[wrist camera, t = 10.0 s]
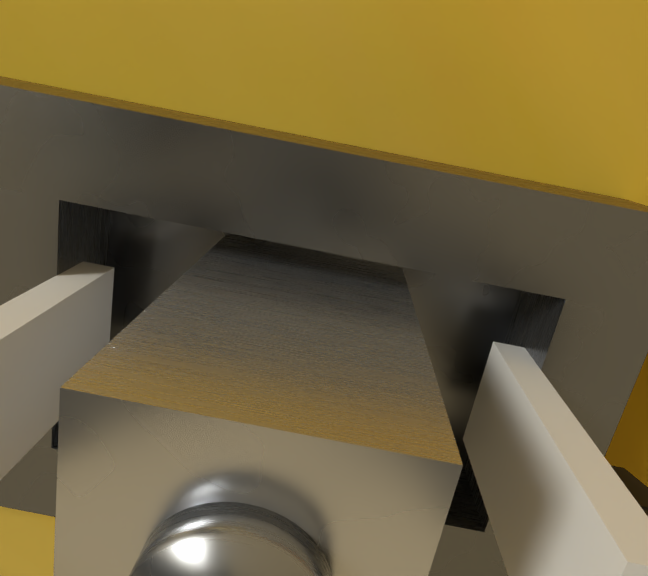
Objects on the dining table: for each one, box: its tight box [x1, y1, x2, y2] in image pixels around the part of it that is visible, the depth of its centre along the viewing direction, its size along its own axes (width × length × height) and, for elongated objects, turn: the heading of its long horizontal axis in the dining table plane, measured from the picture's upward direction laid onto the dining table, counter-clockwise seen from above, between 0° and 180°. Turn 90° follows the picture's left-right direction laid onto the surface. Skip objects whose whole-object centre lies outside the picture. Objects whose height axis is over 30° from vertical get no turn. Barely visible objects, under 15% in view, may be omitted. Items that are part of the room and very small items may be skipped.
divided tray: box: [0, 76, 648, 576], centre depth 13 cm, size 10×28×3 cm, turn 79°
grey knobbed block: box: [54, 234, 463, 576], centre depth 10 cm, size 4×4×9 cm
